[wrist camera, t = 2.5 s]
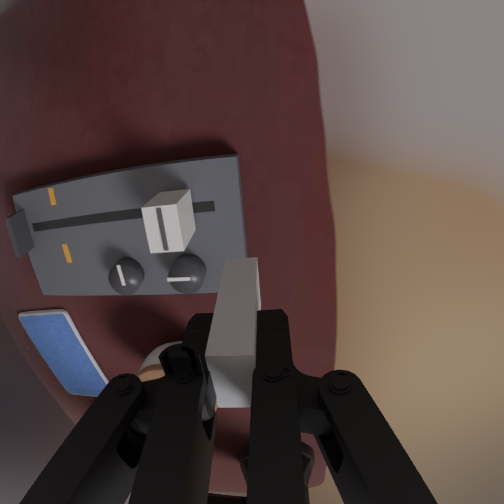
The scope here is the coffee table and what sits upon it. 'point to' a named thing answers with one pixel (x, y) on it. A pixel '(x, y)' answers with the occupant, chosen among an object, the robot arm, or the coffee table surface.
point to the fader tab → (169, 221)
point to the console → (130, 229)
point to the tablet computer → (64, 351)
